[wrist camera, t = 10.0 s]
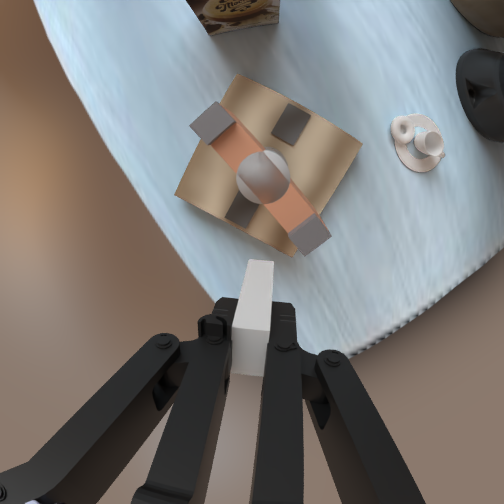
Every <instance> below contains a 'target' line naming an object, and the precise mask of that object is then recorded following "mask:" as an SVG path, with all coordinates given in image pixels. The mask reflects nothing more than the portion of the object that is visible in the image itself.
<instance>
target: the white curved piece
mask: <svg viewBox="0 0 504 504" xmlns="http://www.w3.org/2000/svg"><path fill="white" fill-rule="evenodd" d="M414 127H422V128H424V129H426V130H427V131H426V132H421V133H419V134H417V135H416V136H415V138H414V145H415V147H416V148H417V149H418V150H419V151H420V152H422V153H424V154H427V155H429V156H428V157H426V158H424V159H417V158H415V157H413V156H412V155H411V154H410V153H409V151H408V149H407V146H406V144H407V143H409V142H410V141H411V140H412V139H413V137H414V134H415V128H414ZM391 134H392V136H393V138H394V139H395V147H396V151H397V154H398V156H399V158H400V159H401V161H402V162H403V163H404V164H405V165H406V166H407V167H408V168H409V169H411V170H413V171H416V172H427V171H430V170H431V169H433V168H434V167H435V166H436V165H437V164H438V163H439V161H440V159H441V158H444V157H445V153H444V152H443V148H444V142H443V139H442V136H441V133H440V130H439V129H438V127H437V125H436V124H435V123H434V122H433V121H432V120H431V119H430V118H428V117H427V116H425V115H422V114H410V115H407V116H398V117H396V118H394V119H393V121H392V123H391Z"/></svg>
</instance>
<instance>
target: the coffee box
mask: <svg viewBox="0 0 504 504" xmlns="http://www.w3.org/2000/svg"><path fill="white" fill-rule="evenodd" d="M186 1H187V3H188V4H189V6H190V7H191V9H192V10H193V12H194V13H195V15H196V16H197V18H198V19H199V21H200V22H201V24H202V25H203V27H204V28H205V30H206V31H207V33H208V35H210V36H211V35H215V34H219V33H224V32H228V31H233V30H238V29H243V28H248V27H254V26H261V25H267V24H275V23H279V7H280V0H186Z"/></svg>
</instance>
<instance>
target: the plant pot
mask: <svg viewBox="0 0 504 504" xmlns="http://www.w3.org/2000/svg"><path fill="white" fill-rule="evenodd" d="M451 2H452V3H453V5H454V6H455V7H456V8H457V10H458V11H459V12H460V13H461V14H462V15H463V16H464V17H465V18H466V19H467V20H468V21H469V22H470V23H471V24H472V25H473V26H475V27H476V28H477V29H479V30H480V31H482V32H483V33H485V34H487V35H490V36H495V37H502V38H504V0H451Z"/></svg>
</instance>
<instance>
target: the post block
mask: <svg viewBox="0 0 504 504" xmlns="http://www.w3.org/2000/svg"><path fill="white" fill-rule="evenodd" d="M220 104H221V105H222V106H224V107H225V108H226V109H228V110H229V111H231V112H232V113H233V114H234V115H235V116H236V117H237V118H238V119H239V120H240V121H241V122H242V123H243V125H244V126H245V127H246V128H247V129H248V130H249V131H250V132H251V133H252V134H253V135H254V137H255V138H256V139H257V140H258V141H259V142H260V143H261V144H262V146H263V147H264V148H265V149H269V150H273V151H275V152H277V153H278V154H279V155H280V156H281V157H282V158H283V159H284V161H285V163H286V165H287V166H288V169H289V172H290V178H291V179H292V181H293V182H294V183H295V184H296V185H297V187H298V188H299V189H300V190H301V192H302V193H303V194H304V195H305V197H306V198H307V199H308V200H309V202H310V203H311V204H312V205H313V207H314V208H315V209H316V210H317V212H318V214H319V215H320V213H321V212H322V210H323V209H324V207H325V205H326V204H327V202H328V201H329V199H330V197H331V196H332V194H333V193H334V191H335V189H336V188H337V186H338V184H339V183H340V181H341V179H342V178H343V176H344V175H345V173H346V171H347V170H348V168H349V166H350V165H351V163H352V161H353V160H354V158H355V156H356V155H357V153H358V151H359V149H360V148H361V146H362V143H361V142H359V141H358V140H357V139H355V138H354V137H352V136H351V135H349V134H348V133H346V132H345V131H343V130H342V129H340V128H338V127H337V126H335V125H334V124H332V123H330V122H329V121H327V120H326V119H324V118H322V117H321V116H319V115H317V114H316V113H314V112H312V111H311V110H309V109H307V108H305V107H304V106H302V105H300V104H298V103H296V102H294V101H293V100H291V99H289V98H287V97H285V96H283V95H281V94H279V93H277V92H276V91H274V90H272V89H270V88H268V87H265V86H263V85H261V84H259V83H257V82H255V81H253V80H251V79H249V78H246V77H244V76H242V75H240V74H237V75H236V76H235V78H234V80H233V81H232V83H231V85H230V86H229V88H228V90H227V92H226V93H225V95H224V97H223V99H222V100H221V102H220ZM236 175H237V174H236V173H235V172H234V171H233V169H232V168H231V167H230V166H229V165H228V164H227V163H226V162H225V161H224V160H223V158H222V157H221V156H220V155H219V154H218V153H217V152H216V151H215V150H214V149H213V147H212V146H211V145H206V143H205V142H204V141H203V140H202V139H201V140H200V142H199V144H198V146H197V148H196V150H195V152H194V154H193V156H192V158H191V160H190V162H189V164H188V166H187V168H186V170H185V172H184V175H183V177H182V179H181V181H180V183H179V185H178V188H177V190H176V192H175V194H174V195H175V196H177V197H179V198H181V199H183V200H185V201H187V202H189V203H191V204H192V205H194V206H196V207H198V208H200V209H202V210H204V211H206V212H208V213H210V214H212V215H213V216H215V217H217V218H219V219H221V220H223V221H225V222H227V223H229V224H230V225H232V226H234V227H236V228H238V229H240V230H242V231H244V232H245V233H247V234H249V235H251V236H253V237H255V238H257V239H259V240H260V241H262V242H264V243H266V244H268V245H270V246H272V247H273V248H275V249H277V250H279V251H281V252H283V253H285V254H286V255H288V256H290V257H293V255H294V254H295V252H296V251H297V249H298V248H297V247H296V246H295V245H294V243H293V242H292V241H291V240H290V239H289V237H288V233H287V231H286V230H285V229H284V228H283V227H282V226H281V224H280V223H279V222H278V221H277V220H276V219H275V217H274V216H273V215H272V214H271V213H270V212H269V210H268V209H267V208H266V207H265V206H264V205H263V204H257V203H254V202H252V201H250V200H248V199H247V198H245V197H244V196H243V194H242V193H241V192H240V190H239V188H238V185H237V181H236Z"/></svg>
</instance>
